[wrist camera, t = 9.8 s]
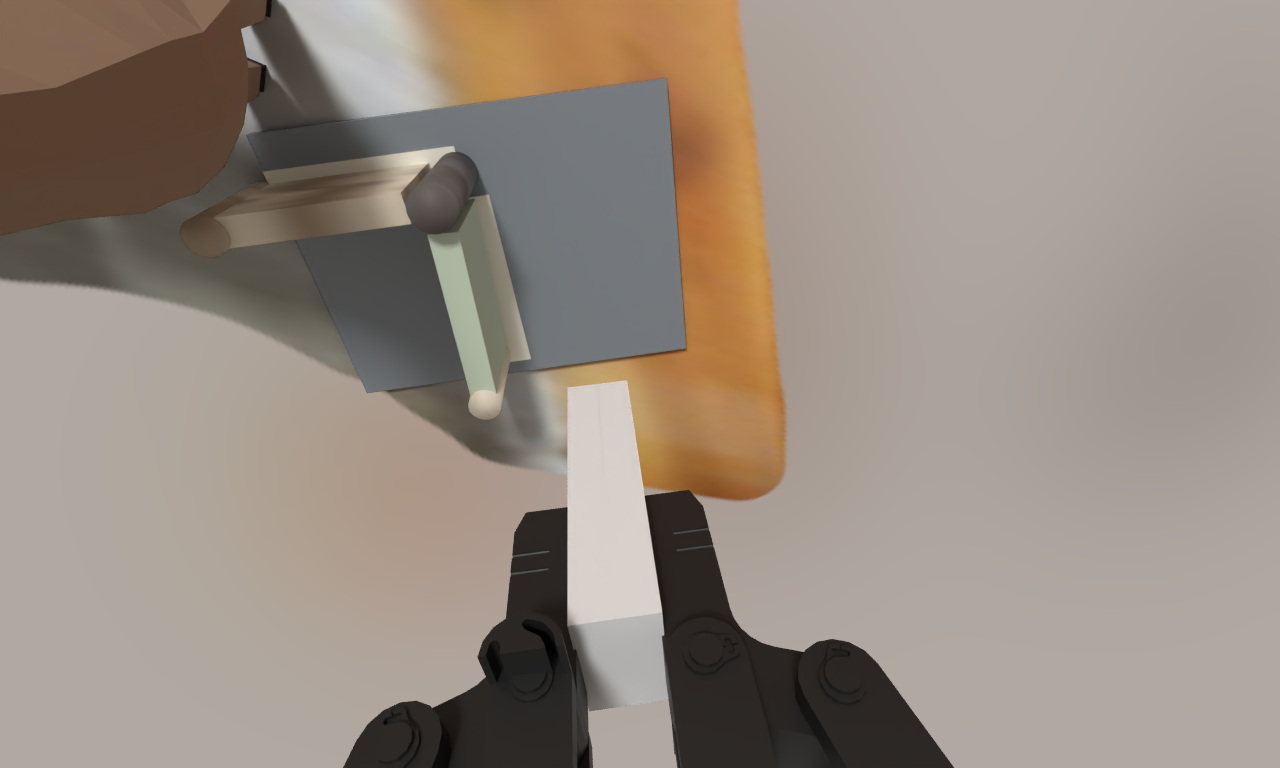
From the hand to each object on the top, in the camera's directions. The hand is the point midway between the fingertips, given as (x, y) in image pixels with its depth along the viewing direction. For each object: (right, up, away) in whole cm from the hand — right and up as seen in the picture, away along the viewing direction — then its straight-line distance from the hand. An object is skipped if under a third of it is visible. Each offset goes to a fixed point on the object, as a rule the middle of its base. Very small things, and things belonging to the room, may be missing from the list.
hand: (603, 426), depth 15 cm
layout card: (-9, +10, +23) cm, 26 cm away
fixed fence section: (-16, +13, +19) cm, 28 cm away
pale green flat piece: (-10, +7, +23) cm, 26 cm away
